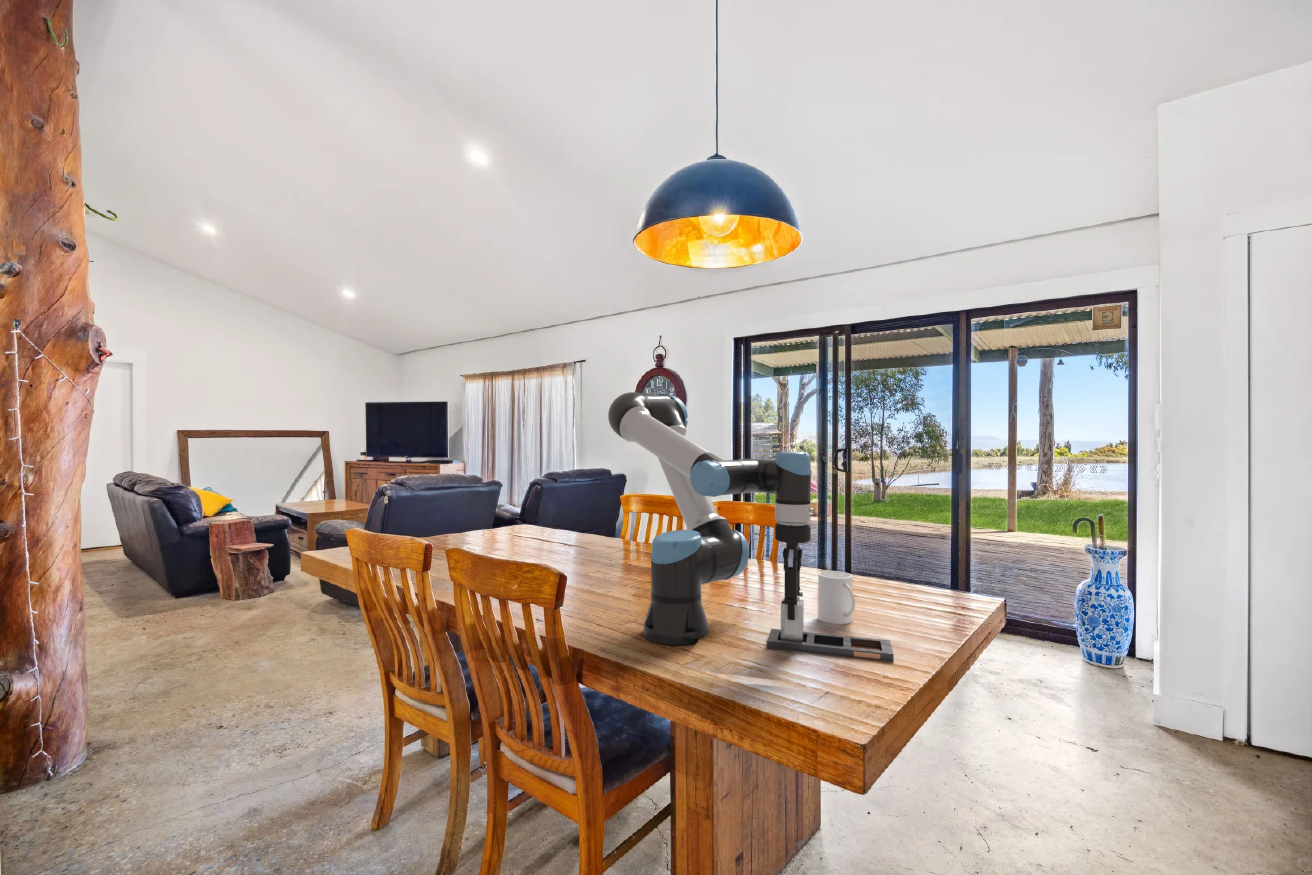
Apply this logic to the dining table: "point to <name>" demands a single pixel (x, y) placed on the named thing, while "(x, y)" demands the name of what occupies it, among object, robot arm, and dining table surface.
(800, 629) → the grey block with knob
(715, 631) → the dining table surface
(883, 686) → the dining table surface
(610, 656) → the dining table surface
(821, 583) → the mug
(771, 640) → the tray with compartments
